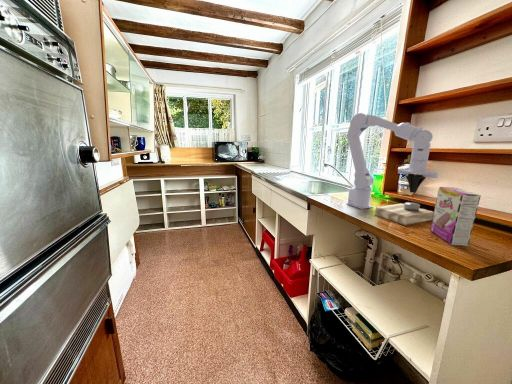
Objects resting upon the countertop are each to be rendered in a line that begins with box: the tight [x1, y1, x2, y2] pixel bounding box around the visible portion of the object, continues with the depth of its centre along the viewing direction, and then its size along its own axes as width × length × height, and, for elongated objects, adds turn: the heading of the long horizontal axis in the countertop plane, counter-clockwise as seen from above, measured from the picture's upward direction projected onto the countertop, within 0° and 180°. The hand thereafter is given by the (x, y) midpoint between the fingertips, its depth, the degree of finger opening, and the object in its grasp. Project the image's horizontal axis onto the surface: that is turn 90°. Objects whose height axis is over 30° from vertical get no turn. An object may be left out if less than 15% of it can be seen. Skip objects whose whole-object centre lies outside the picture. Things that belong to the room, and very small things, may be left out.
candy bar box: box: [429, 186, 482, 247], centre depth 68 cm, size 11×5×16 cm, turn 168°
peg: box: [403, 201, 421, 212], centre depth 89 cm, size 5×5×6 cm
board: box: [374, 203, 434, 226], centre depth 90 cm, size 13×17×4 cm
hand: (412, 192), depth 90 cm, fingers closed
